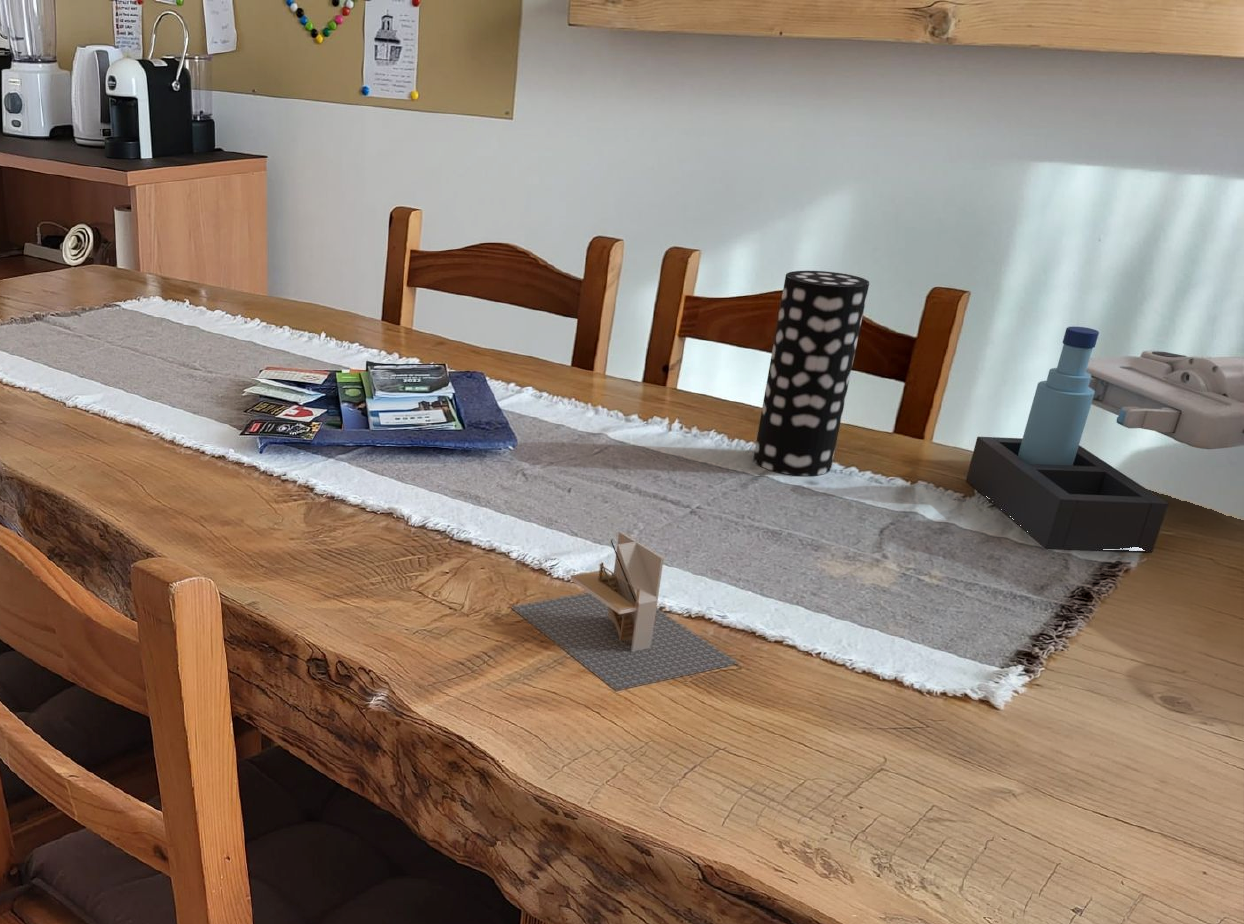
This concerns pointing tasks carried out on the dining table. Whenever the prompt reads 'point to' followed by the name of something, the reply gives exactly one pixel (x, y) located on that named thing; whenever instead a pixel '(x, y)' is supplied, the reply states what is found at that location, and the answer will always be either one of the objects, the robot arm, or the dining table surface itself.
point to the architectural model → (623, 624)
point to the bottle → (1061, 404)
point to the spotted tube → (809, 371)
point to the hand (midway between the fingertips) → (1089, 403)
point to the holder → (1067, 499)
